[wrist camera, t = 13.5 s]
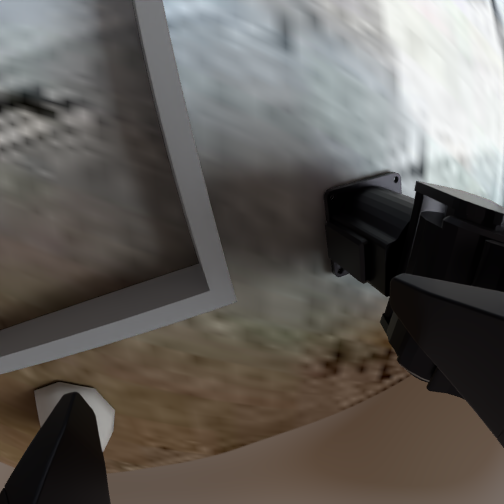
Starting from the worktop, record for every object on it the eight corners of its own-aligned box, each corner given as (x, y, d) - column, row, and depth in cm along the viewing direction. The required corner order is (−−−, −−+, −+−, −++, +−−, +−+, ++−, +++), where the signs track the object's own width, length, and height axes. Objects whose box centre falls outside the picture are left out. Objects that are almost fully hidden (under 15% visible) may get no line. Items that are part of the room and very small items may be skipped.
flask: (125, 432, 23) (137, 531, 15) (54, 434, 21) (49, 528, 13) (102, 376, 21) (102, 495, 12) (21, 380, 18) (-3, 486, 10)
